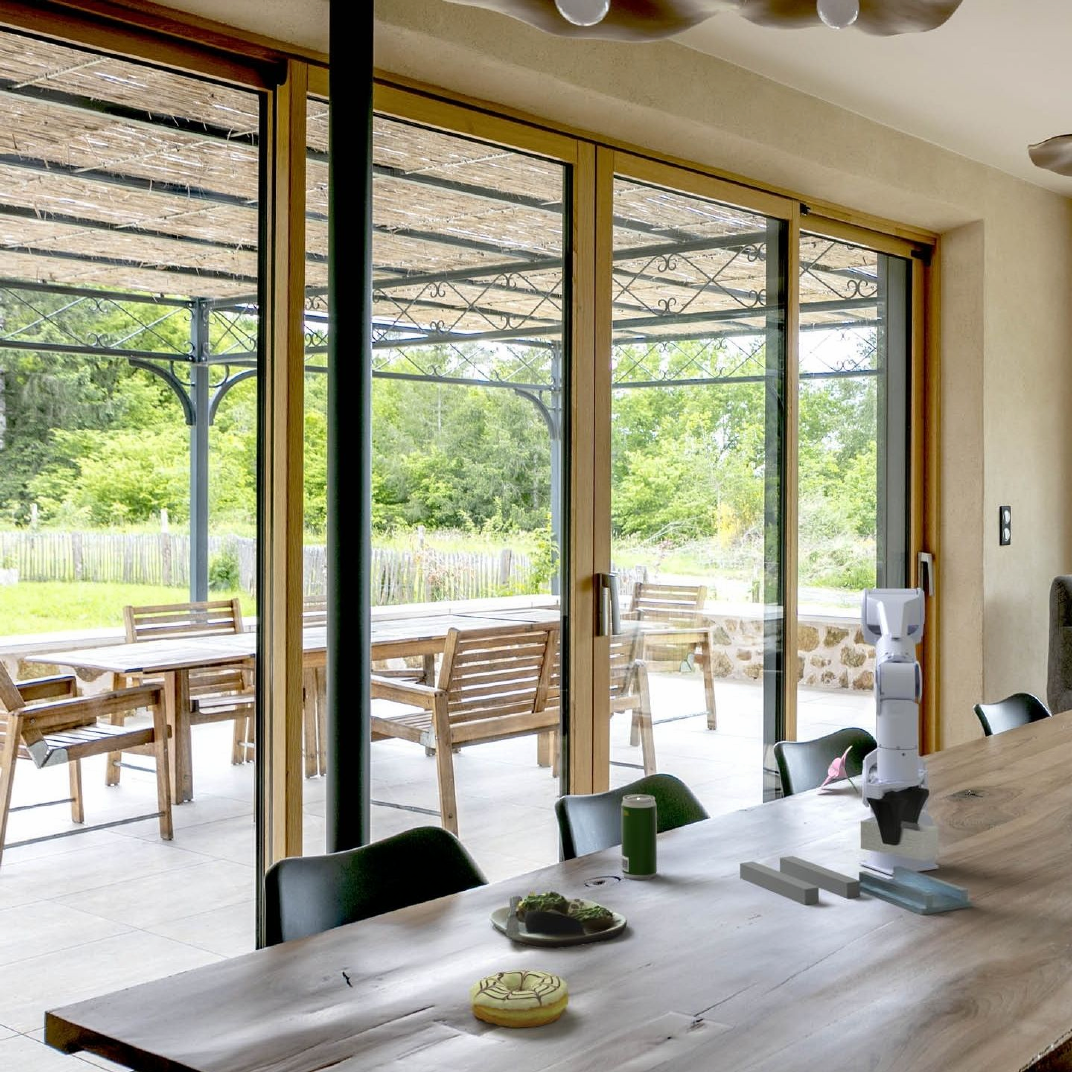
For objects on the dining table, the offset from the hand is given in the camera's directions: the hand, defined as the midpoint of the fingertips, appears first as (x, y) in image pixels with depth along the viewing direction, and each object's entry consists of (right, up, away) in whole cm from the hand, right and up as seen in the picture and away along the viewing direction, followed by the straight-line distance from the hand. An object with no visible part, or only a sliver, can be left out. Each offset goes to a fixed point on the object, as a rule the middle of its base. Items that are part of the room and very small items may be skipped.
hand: (898, 841), depth 183 cm
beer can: (-36, -9, +14) cm, 40 cm away
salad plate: (-49, -9, -12) cm, 51 cm away
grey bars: (-13, -8, +7) cm, 17 cm away
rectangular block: (0, -2, 0) cm, 2 cm away
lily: (+9, -9, +76) cm, 77 cm away
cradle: (+2, -8, +1) cm, 9 cm away
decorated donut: (-54, -9, -42) cm, 69 cm away
